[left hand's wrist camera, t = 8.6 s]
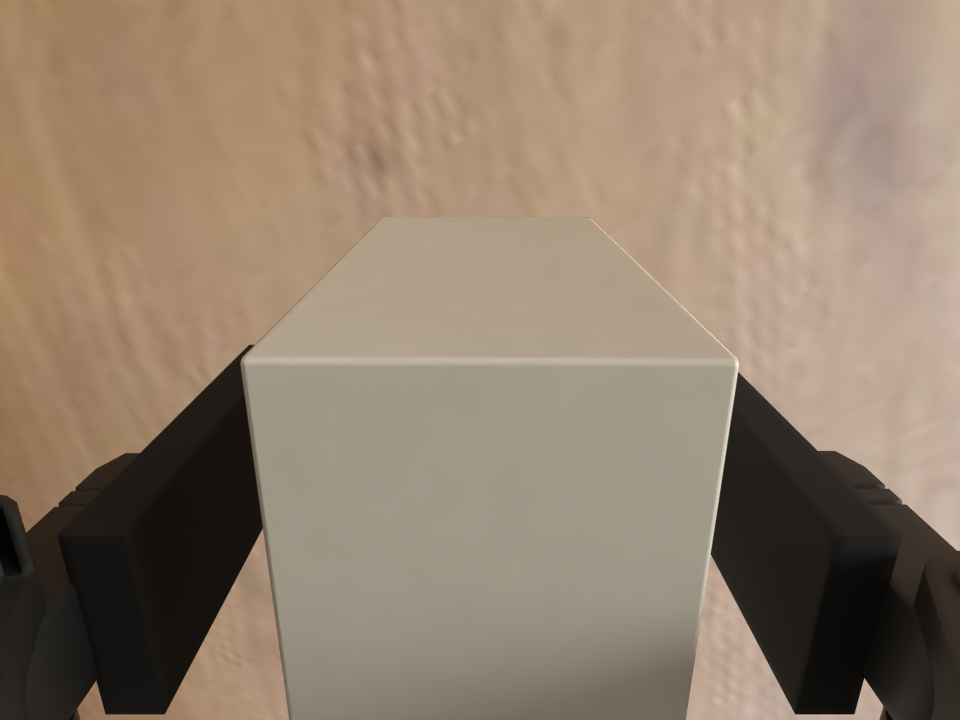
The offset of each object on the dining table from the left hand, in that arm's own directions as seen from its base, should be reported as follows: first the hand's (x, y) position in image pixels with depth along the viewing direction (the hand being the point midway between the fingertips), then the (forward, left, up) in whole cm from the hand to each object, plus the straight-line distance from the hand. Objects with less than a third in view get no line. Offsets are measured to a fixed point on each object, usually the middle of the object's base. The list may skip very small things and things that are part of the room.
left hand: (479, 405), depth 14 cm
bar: (+9, 0, -1) cm, 9 cm away
